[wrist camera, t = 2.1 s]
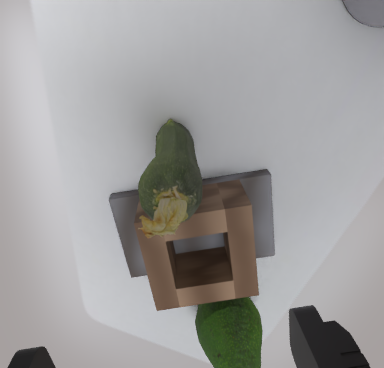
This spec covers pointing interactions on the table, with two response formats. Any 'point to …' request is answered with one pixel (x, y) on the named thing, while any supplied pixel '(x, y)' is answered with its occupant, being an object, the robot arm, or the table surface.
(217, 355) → the avocado
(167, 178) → the vegetable
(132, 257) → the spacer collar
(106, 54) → the table surface
